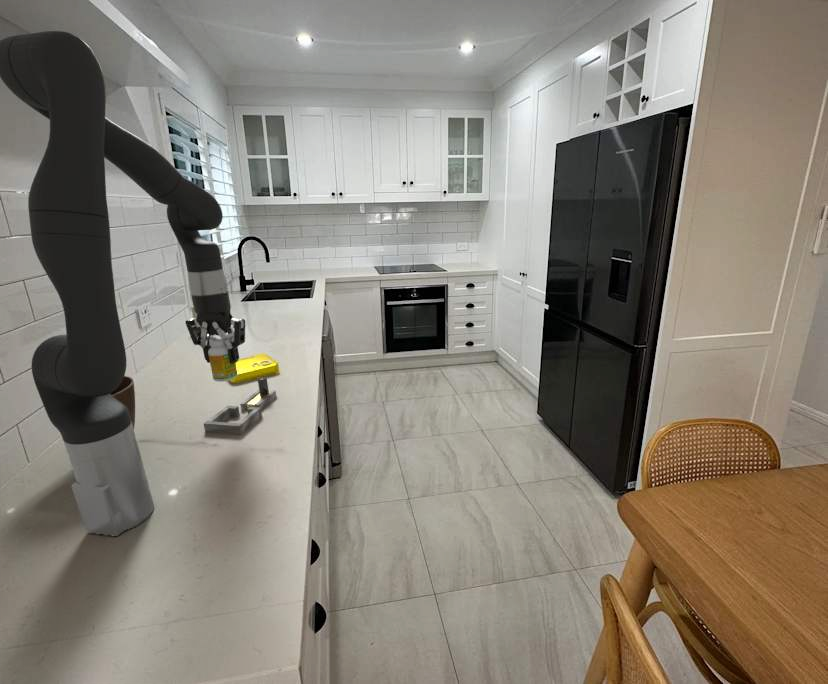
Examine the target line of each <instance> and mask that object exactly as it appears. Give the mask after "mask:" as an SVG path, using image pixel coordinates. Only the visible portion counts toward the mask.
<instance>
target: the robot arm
mask: <svg viewBox="0 0 828 684" xmlns="http://www.w3.org/2000/svg"><path fill="white" fill-rule="evenodd" d="M0 79H1V80H2V82H3V83H4V85H5V86H6V87H7V88H8V90H9V91H10V92H12V93H13V94H14V95H15V96H16V97H17V98H18V99H19V100H21V101H22V102H23V103H25V104H26V105H27V106H28V107H30V108H31V109H33V110H34V111H36V112H37V113H39V114H40V115H42V116H44V117H45V118H47V119H48V120H49V136H48V137H49V138H48V141H47V145H46V149H45V151H44V154H43V157H42V159H41V161H40V164H39V166H38V168H37V170H36V173H35V176H34V178H33V180H32V183H31V187H30V189H29V193H28V198H27V199H28V200H27V201H28V202H27V203H28V204H27V205H28V215H29V216H28V217H29V226H30V234H31V235H30V236H31V241H32V245H33V249H34V252H35V255H36V256H37V258H38V261H39V262H40V264H41V266H42V269H43V270H44V271H45V273H46V275H47V277H48V279H49V280H50V282H51V283H52V285H53V286H54V289H55V290H56V293H57V295H58V297H59V299H60V302H61V305H62V309H63V312H64V323H65V330H66V331H65V332H66V333H65V334H59V335H54V336H51V337H49V338H47V339H45V340H44V341H42V342H40V344H39V345H38V346H37V348H36V349H35V351H34V352H33V355H32V358H31V373H32V377H33V381H34V384H35V387H36V390H37V391H38V394H39V397H40V400H41V402H42V405H43V407H44V411H45V412H46V414H47V417H48V419H49V421H50V423H51V424H52V425H53V426H54V428H55V429H57V431H58V432H59V433H60V435H61V438H62V441H63V444H64V447H65V450H66V453H67V456H68V458H69V462H70V465H71V469H72V472H73V474H74V477H75V478H74V479H75V482H73V483H72V485H71V489H72V490H71V491H72V492H73V495H74V498H75V502H76V504H77V509H78V510H79V513H80V516H81V519H82V522H83V525H84V529H85V531H86V533H87V532H88V533H87V534H92V533H98V534H97V535H99V534H106V535H105V536H107V535H113V536H112V537H114V536H117V535H119V534H120V533H121V532H122V533H123V531H124V532H125V530H126V531H128V530H130V528H131V529H133V528H134V526H135V527H137V526H138V525H140V524H141V523H143V522H144V521H145V520H147V519H148V518H149V517H150V516H151V515H152V513H153V511H154V509H155V504H154V501H153V496H152V492H151V489H150V484H149V481H148V477H147V473H146V470H145V467H144V466H145V465H144V462H143V459H142V456H141V455H142V454H141V451H140V448H139V444H138V440H137V437H136V433H135V428H134V429H133V425H132V421H131V418H130V414H129V411H128V409H127V407H126V406H125V405H124V404H123V403H121V402H119V401H118V400H117V399H115V398H114V397H113V396H112V395H111V394H110V393H111V392H113V391H114V390H116V388H117V387H118V386H119V385H120V384H121V382H122V380H123V378H124V376H125V375H126V370H127V355H126V353H127V352H126V348H125V343H124V337H123V333H122V328H121V322H120V317H119V314H118V313H119V312H118V308H117V300H116V294H115V293H116V291H115V281H114V272H113V263H112V247H111V246H112V244H111V242H112V241H111V229H110V227H111V225H110V219H109V218H110V216H109V215H110V214H109V208H108V200H107V188H106V187H107V185H106V183H107V182H106V168H105V159H106V160H107V161H108V162H110V163H111V164H113V165H114V166H115V167H117V168H118V169H119V170H120V171H121V172H122V173H123V174H125V175H126V176H127V177H128V178H129V179H130V180H132V181H133V182H134V183H135V184H136V185H138V187H140V188H141V189H142V190H143V191H144V192H146V193H147V194H148V195H149V196H150V197H151V198H152V199H153V200H154V201H156V202H157V203H159V204H162V205H165V206H166V205H167V207H166V217H167V220H168V223H169V225H170V228H171V230H172V231H173V234H174V236H175V237H176V239H177V242H178V244H179V246H180V248H181V249H182V252H183V253H184V260H185V265H186V270H187V278H188V280H187V281H188V287H189V290H190V291H189V292H190V297H191V301H192V306H193V307H194V312H195V313H196V314H197V318H193V317H192V318H189V319H187V320H185V325H186V328H187V330H188V333H189V336H190V338H191V341H192V343H193V345H194V346H200V347H201V349H202V351H203V357H204V360H205V361H206V363H208V364H210V360H209V355H208V350H209V349H210V348H212V347H211V346H210V343H209V339H211V338H214V336H217V337H219V336H220V337H221V339H222V340H223V341H225V343H226V345H227V346H228V355H229V360H230V363H231V364H234V363H236V362H237V361H238V360H239V358H240V355H239V347H240V346H241V345H242V344H244V343H245V342H246V320H245V318H240V319H238V318H234V317H233V315H232V314H231V309H232V306H231V305H232V304H231V301H230V294H229V290H228V282H227V278H226V275H225V272H224V268H223V267H224V266H223V261H222V256H221V251H220V250H221V249H220V247H219V245H218V244H217V243H216V242H212V241H209V240H206V239H204V238H203V237H202V236H201V234H200V232H199V231H211V230H215V229H217V228H218V227H219V226H220V225H221V224H222V221H223V219H224V218H223V210H222V208H221V205H220V203H219V202H218V201H217V200H216V198H215V197H214V196H213V195H212V194H211V193H209V192H208V191H207V190H205V189H204V188H203V187H201V186H199V185H197V184H196V183H195V182H193V181H192V180H190V179H188V178H187V177H185V176H184V175H183V174H181V173H180V171H179V170H177V168H176V167H174V165H173V163H172V162H170V161H169V160H168V158H166V157H165V156H164V155H163V154H162V152H160V151H159V150H158V149H157V148H155V147H154V146H153V145H151V144H149V143H148V142H146V141H145V140H143V139H142V138H140V137H139V136H137V135H135V134H133V133H131V132H130V131H128V130H127V129H124V128H123V127H121V126H120V125H118V124H116V123H115V122H113V121H111V120H110V119H109V118H107V117H106V107H107V106H106V102H107V100H106V98H107V96H106V95H107V93H106V83H105V77H104V74H103V70H102V67H101V64H100V62H99V60H98V58H97V56H96V55H95V53H94V51H93V50H92V48H91V47H90V46H89V45H88V44H87V43H86V42H85V41H84V40H83V39H82V38H80V37H79V36H77V35H75V34H73V33H71V32H68V31H62V30H61V31H60V30H50V31H49V30H45V31H40V32H39V31H38V32H33V33H24V34H18V35H11V36H7V37H5V38H2V39H1V40H0ZM200 326H201V327H202V331H201V329H200ZM127 529H128V530H127ZM122 533H121V534H122ZM121 534H120V535H121ZM120 535H119V536H120ZM117 537H118V536H117Z"/></svg>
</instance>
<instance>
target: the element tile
mask: <svg viewBox="0 0 828 684" xmlns="http://www.w3.org/2000/svg"><path fill="white" fill-rule="evenodd" d="M236 367H237V373H238V375H237V377H236V378H234V379H232V380H229V382H230V383H231V384H239V383H245V382H248V381H253V380H256V379H257V380H258V379H259V378H262V377H267V376H272V375H280V374H281V373H280V369H279V363H278V361H276V360H274V359H273V358H272V357H271V356H270V355H268V354H266V353H265V352H263V353H258V354H254V355H250V356H249V355H248V356H245V357H239V360H238V361H237V362H236Z"/></svg>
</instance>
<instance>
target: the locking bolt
mask: <svg viewBox="0 0 828 684" xmlns="http://www.w3.org/2000/svg"><path fill="white" fill-rule="evenodd" d="M268 383H269V382H268V378H267V376H264V377H260V378H257V385H258V390H259V392H260V394H258V395H257V396H256V397H255V398H253V399H252V400H251V401H250V402H248V403H247V404H246V405H247V409H248V408H249V407H255V404H256V403H258V402H259V401H260V400H261V399H262V398H264V397H265V396H266V395H267V394H269V393H270V392H271V391H270V390H269V384H268ZM247 409H246V410H247Z"/></svg>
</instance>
